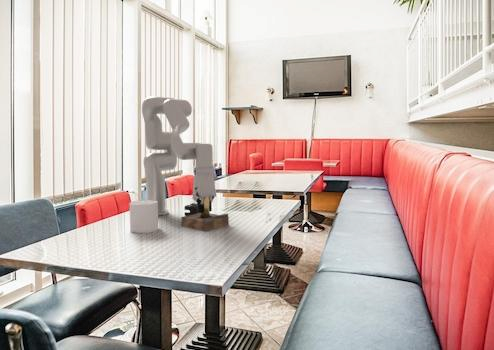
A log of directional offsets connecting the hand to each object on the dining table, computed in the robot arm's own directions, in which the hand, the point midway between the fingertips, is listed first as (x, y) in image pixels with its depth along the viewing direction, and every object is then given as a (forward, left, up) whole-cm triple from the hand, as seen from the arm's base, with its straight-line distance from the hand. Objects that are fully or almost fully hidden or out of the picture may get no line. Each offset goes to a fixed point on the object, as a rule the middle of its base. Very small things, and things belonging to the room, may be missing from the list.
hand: (204, 211), depth 172 cm
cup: (-15, -22, -7) cm, 27 cm away
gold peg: (0, 0, -3) cm, 3 cm away
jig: (0, 0, -6) cm, 6 cm away
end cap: (-17, +10, -7) cm, 21 cm away
